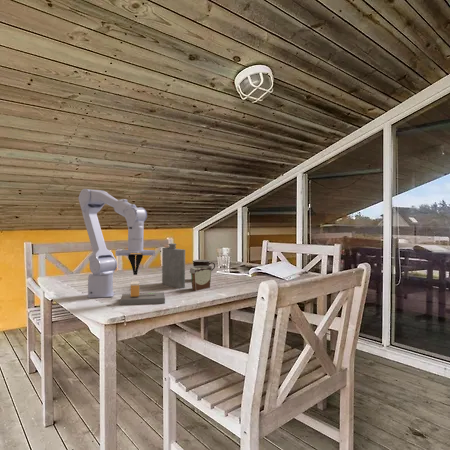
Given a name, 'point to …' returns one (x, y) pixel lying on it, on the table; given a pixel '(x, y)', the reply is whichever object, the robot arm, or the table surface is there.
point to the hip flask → (173, 266)
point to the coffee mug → (202, 263)
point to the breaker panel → (143, 299)
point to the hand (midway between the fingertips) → (135, 274)
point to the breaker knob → (134, 288)
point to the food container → (200, 277)
